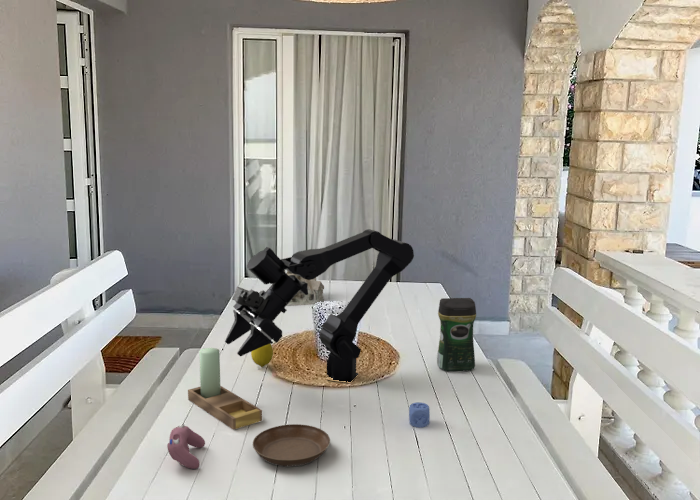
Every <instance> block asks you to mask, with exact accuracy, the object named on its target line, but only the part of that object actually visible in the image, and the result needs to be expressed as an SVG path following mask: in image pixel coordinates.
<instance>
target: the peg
mask: <svg viewBox="0 0 700 500" xmlns="http://www.w3.org/2000/svg"><path fill="white" fill-rule="evenodd" d="M198 353H199V354H198V355H199V357H198V358H199V381H200V382H199V383H200V384H199V385H200V386H199V387H201V396H202V397H203V398H205V399H206V398H210V397H213V396H217V395H221V388H220V386H221V361H220V360H221V359H220V355H221V354H220V349H219V348H216V347H206V348H202V349H200V350H199V351H198Z"/></svg>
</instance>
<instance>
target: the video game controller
mask: <svg viewBox="0 0 700 500" xmlns="http://www.w3.org/2000/svg"><path fill="white" fill-rule="evenodd" d="M168 440H169V442H168V443H167V445H166V446H167V447H166V448H167V452H168V453H169V456H170V457H171V459H172V460H174V461H176V462H177V463H179V464H180V465H182V466H183V467H185V468H187V469H190V470H196V469H198V468H199V467H200V466H201V462H200V460H199V458H198V457H197V456H195V455H194V454H193V453H191V451H190V447H193V448H196V449H197V448H199V449H201V448H204V446H205V445H206V441H205V438H204V437H203V436H201V435H200V434H198V433H197V432H195V431H194V430H192V429H191V428H190V427H189V426H187V425H185V424H182V425H178V426H176V427H174V428H172V430H171V431H170V434H169V439H168ZM189 446H190V447H189Z"/></svg>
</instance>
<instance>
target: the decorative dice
mask: <svg viewBox="0 0 700 500" xmlns="http://www.w3.org/2000/svg"><path fill="white" fill-rule="evenodd" d="M408 409H409V410H408V411H409V412H408V417H409V418H408V419H409V425H410V426H412V427H414V428H419V429H420V428H422V429H423V428H425V427H428V426H429V425H430V419H431V417H430V415H431V413H430V405H429V404H427V403H425V402H413V403H411V404H410V405H409V407H408Z"/></svg>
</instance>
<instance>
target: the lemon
mask: <svg viewBox="0 0 700 500" xmlns="http://www.w3.org/2000/svg"><path fill="white" fill-rule="evenodd" d="M250 354H251V355H250V356H251V359H252V362H253V363H254V364H256V365H258V366H259V367H260V368H265V366H267V365H268V364H269V363H271V362H272V359H273V354H274V349H273V346H272V344H271V343H270V344H268V345H265V346H263V347H260V348H258V349H256V350H253V351H251V352H250Z"/></svg>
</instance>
